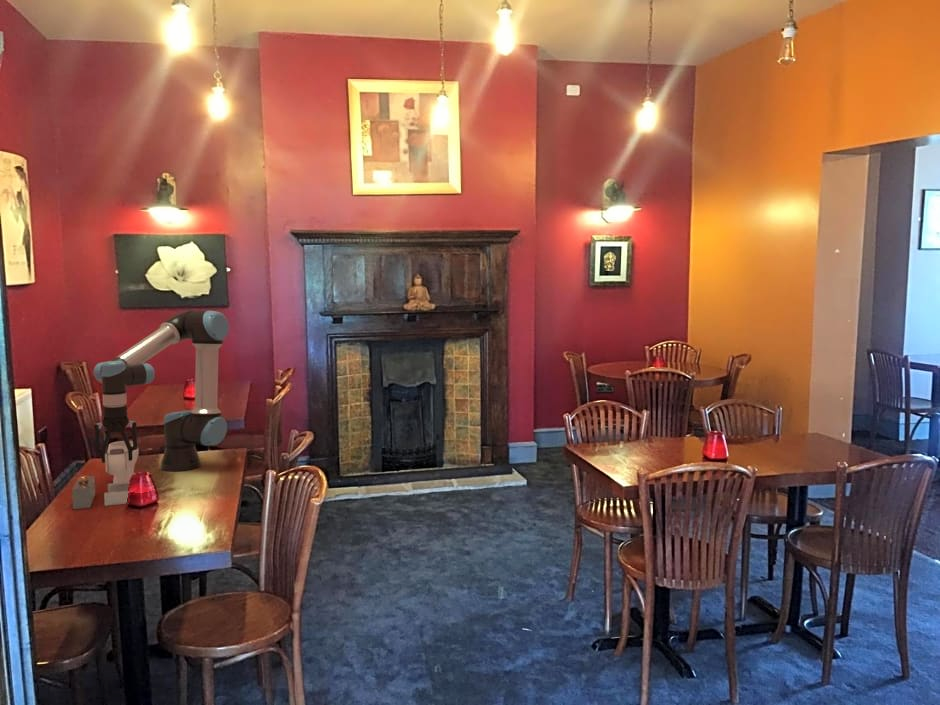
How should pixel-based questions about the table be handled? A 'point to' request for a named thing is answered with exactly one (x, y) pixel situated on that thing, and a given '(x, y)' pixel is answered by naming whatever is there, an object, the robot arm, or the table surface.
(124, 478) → the cup
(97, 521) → the table surface
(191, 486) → the table surface
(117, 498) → the motor bracket
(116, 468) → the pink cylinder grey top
